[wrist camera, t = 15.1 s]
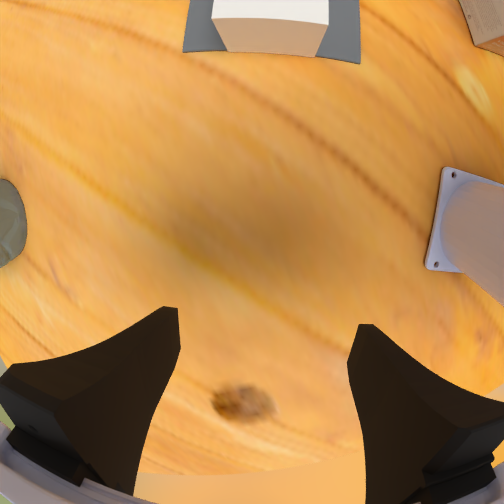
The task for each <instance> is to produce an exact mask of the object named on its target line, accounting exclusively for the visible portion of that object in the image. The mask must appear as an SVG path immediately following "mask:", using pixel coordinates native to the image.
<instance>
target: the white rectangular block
mask: <svg viewBox="0 0 504 504" xmlns="http://www.w3.org/2000/svg"><path fill="white" fill-rule="evenodd" d="M211 19H212V21H213V23H214V25H215V27H216V29H217V31H218V33H219V35H220V37H221V39H222V41H223V43H224V45H225V47H226V49H227V51H228V52H254V53H273V54H286V55H296V56H305V57H313V58H314V57H315V55H316V52H317V50H318V48H319V46H320V43H321V41H322V39H323V37H324V34H325V32H326V30H327V27H328V25H329V2H328V0H214V3H213V10H212V17H211Z"/></svg>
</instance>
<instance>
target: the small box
mask: <svg viewBox="0 0 504 504" xmlns="http://www.w3.org/2000/svg"><path fill="white" fill-rule="evenodd" d="M459 2H460V4H461V7H462V9H463V12H464V15H465V17H466V20H467V23H468V26H469V29H470V32H471V35H472V38H473V42H474V45H475V46H477V47H480V48H483V49H486V50H489V51H492V52H494V53H497V54H499V55H501V56H504V0H459Z"/></svg>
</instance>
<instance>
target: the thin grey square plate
mask: <svg viewBox="0 0 504 504" xmlns="http://www.w3.org/2000/svg"><path fill="white" fill-rule="evenodd" d="M328 2H329V25H328V27H327V30H326V32H325V34H324V37H323V39H322V41H321V43H320V46H319V48H318V50H317V52H316V55H315V56H316V57H323V58H329V59H335V60H341V61H346V62H351V63H356V64H360V62H361V47H360V11H359V0H328ZM213 3H214V0H190V5H189V11H188V17H187V23H186V30H185V36H184V44H183V51H182V52H183V53H184V52H199V51H227V49H226V47H225V45H224V43H223V41H222V39H221V37H220V35H219V33H218V31H217V29H216V27H215V25H214V23H213V21H212V19H211V17H212V10H213Z"/></svg>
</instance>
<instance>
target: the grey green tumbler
mask: <svg viewBox="0 0 504 504" xmlns="http://www.w3.org/2000/svg"><path fill="white" fill-rule="evenodd" d="M26 237H27V220H26V214H25V209H24V205H23V202H22V200H21V197H20V195H19V193H18V190H17V189H16V188H14V185H12V184H11V183H10V182H8V181H6V180H3V179H0V268H1V267H3V266H4V265H6V264H7V263H8V262H9V261H11V260H13V259H14V258H15V257H17V256H18V255H19V254H20V253H21V252H22V250H23V248H24V246H25V243H26Z"/></svg>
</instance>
